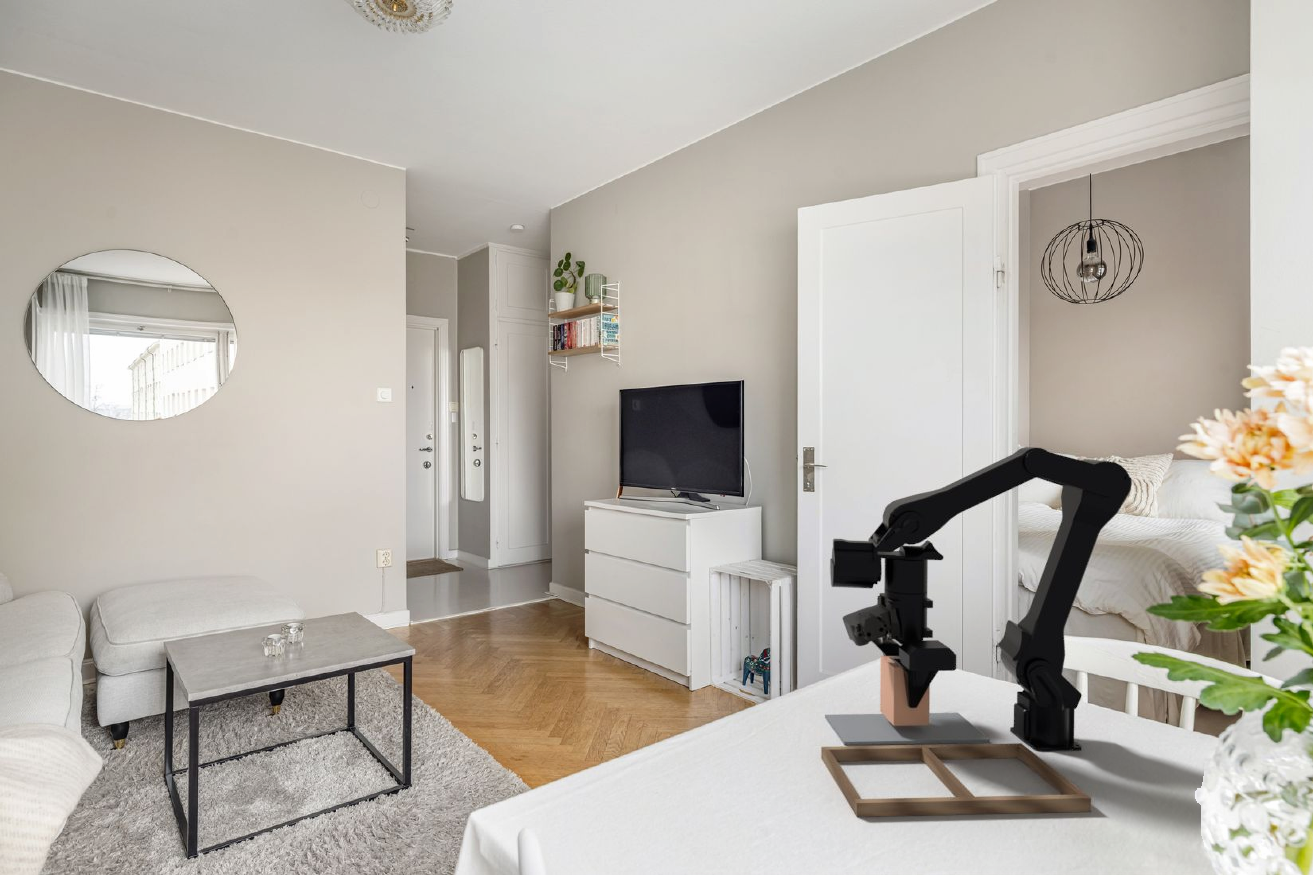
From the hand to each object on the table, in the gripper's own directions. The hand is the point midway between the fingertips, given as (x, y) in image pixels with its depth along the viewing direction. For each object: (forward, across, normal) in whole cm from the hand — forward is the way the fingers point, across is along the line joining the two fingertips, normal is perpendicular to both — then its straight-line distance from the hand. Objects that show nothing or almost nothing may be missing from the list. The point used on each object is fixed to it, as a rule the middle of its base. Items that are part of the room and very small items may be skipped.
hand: (904, 699), depth 99 cm
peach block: (+2, 0, 0) cm, 3 cm away
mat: (+4, 0, 0) cm, 4 cm away
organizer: (+4, +15, -1) cm, 16 cm away
